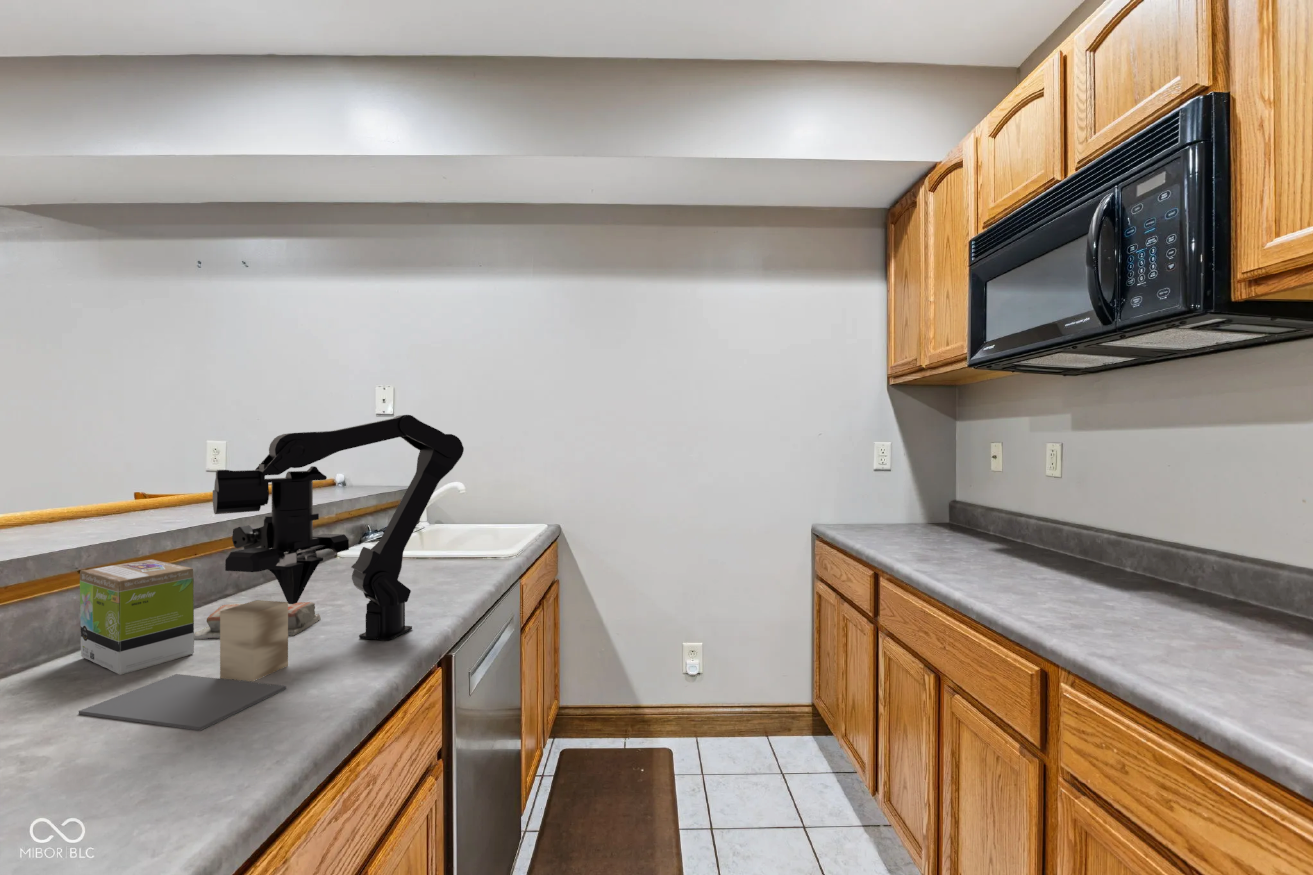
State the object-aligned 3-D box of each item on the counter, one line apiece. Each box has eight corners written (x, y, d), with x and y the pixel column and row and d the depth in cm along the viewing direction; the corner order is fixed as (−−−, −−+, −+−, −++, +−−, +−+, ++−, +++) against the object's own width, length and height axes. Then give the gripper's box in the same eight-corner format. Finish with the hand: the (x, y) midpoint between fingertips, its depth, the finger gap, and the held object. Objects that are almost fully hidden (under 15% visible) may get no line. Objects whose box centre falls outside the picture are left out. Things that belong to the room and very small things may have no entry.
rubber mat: (176, 676, 85) (176, 673, 85) (286, 688, 80) (286, 685, 80) (78, 713, 73) (78, 710, 73) (200, 730, 68) (200, 727, 68)
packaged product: (322, 596, 113) (294, 611, 103) (322, 621, 113) (294, 638, 103) (226, 599, 111) (189, 615, 101) (226, 624, 111) (189, 642, 101)
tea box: (77, 659, 92) (77, 568, 92) (154, 640, 101) (154, 557, 101) (117, 676, 85) (117, 578, 85) (196, 654, 94) (196, 565, 94)
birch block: (257, 662, 90) (257, 599, 90) (288, 665, 89) (288, 601, 89) (220, 678, 84) (220, 610, 84) (252, 681, 83) (252, 613, 83)
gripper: (299, 502, 104) (299, 587, 104) (196, 514, 86) (196, 617, 86) (350, 503, 102) (351, 590, 101) (255, 516, 83) (255, 622, 83)
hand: (292, 603), depth 93 cm, fingers closed
